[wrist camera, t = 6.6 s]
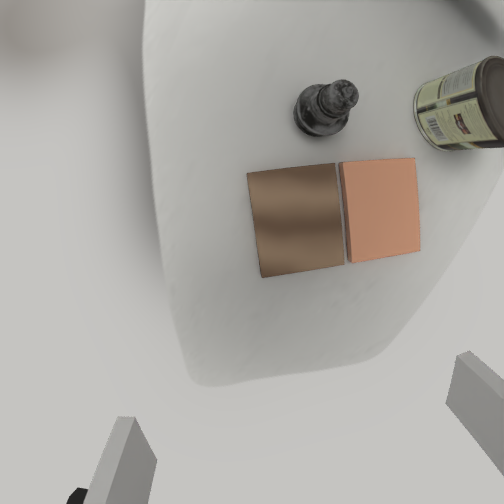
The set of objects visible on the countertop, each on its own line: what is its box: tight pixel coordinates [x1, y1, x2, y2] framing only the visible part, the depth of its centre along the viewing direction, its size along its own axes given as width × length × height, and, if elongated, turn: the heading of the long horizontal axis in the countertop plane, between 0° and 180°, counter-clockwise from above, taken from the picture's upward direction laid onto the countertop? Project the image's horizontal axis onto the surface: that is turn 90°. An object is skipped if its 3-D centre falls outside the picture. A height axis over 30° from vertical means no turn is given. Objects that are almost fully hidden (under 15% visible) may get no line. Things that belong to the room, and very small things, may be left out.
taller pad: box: [339, 158, 420, 263], centre depth 36 cm, size 12×10×2 cm
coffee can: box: [414, 56, 504, 151], centre depth 28 cm, size 10×10×14 cm
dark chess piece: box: [294, 80, 359, 136], centre depth 28 cm, size 6×6×12 cm
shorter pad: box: [247, 163, 344, 278], centre depth 36 cm, size 12×10×2 cm
